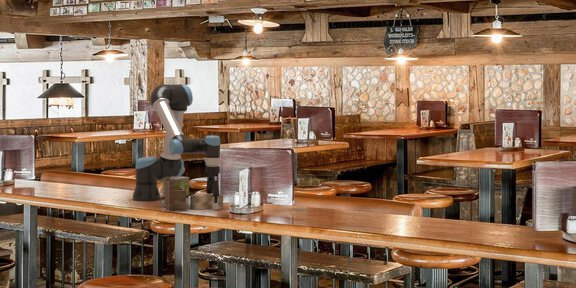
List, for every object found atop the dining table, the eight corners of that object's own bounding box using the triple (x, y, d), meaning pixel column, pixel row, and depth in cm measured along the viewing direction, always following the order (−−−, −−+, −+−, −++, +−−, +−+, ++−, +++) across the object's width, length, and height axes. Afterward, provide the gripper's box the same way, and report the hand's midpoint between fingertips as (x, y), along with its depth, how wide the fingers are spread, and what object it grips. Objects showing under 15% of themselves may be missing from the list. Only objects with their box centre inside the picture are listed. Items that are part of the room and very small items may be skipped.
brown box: (164, 207, 455) (164, 176, 454) (180, 207, 458) (181, 176, 457) (169, 211, 442) (169, 179, 441) (186, 210, 445) (186, 179, 444)
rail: (192, 209, 450) (192, 195, 450) (190, 208, 455) (190, 194, 455) (223, 208, 455) (223, 194, 455) (220, 207, 460) (220, 193, 459)
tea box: (180, 207, 458) (180, 178, 457) (161, 206, 460) (161, 178, 459) (189, 204, 473) (189, 176, 472) (171, 203, 475) (171, 175, 474)
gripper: (200, 164, 465) (200, 205, 466) (210, 167, 442) (210, 211, 443) (214, 163, 467) (214, 204, 469) (225, 167, 444) (225, 210, 446)
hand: (212, 207), depth 456 cm, fingers open, 12 cm apart
